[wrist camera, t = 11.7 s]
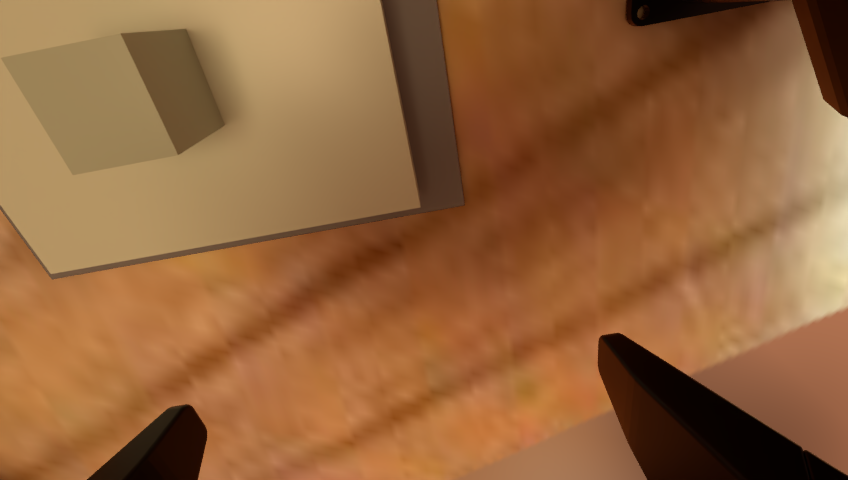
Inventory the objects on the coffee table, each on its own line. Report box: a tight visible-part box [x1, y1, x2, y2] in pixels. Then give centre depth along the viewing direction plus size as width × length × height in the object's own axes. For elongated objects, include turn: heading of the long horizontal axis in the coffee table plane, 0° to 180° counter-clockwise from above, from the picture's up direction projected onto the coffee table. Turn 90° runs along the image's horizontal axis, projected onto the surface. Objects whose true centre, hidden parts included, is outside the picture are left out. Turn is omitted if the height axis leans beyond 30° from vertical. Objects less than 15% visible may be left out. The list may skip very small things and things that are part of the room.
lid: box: [0, 0, 421, 274], centre depth 15 cm, size 18×14×6 cm
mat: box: [0, 0, 465, 279], centre depth 18 cm, size 22×16×1 cm
